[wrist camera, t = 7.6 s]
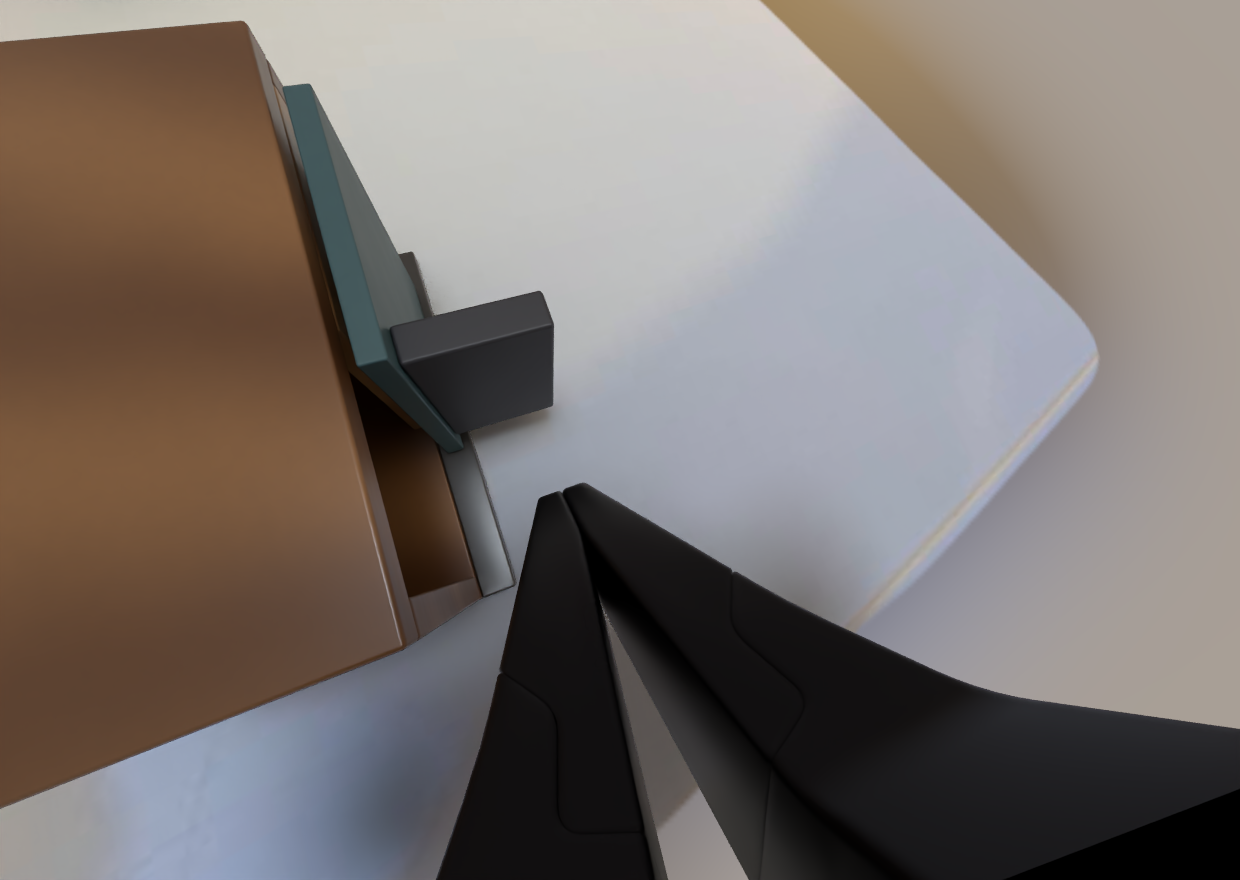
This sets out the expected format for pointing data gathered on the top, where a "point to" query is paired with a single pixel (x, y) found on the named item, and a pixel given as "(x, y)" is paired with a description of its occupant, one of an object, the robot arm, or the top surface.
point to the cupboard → (191, 415)
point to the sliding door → (418, 308)
